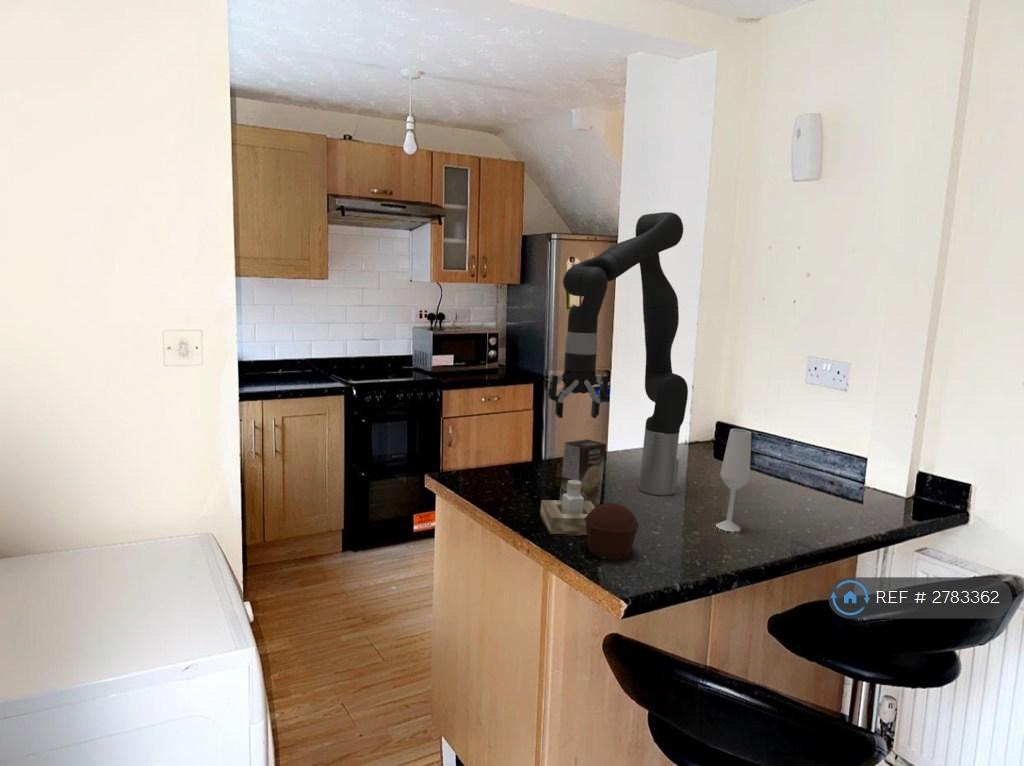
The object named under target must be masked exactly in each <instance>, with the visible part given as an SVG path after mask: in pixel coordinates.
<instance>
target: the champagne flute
mask: <svg viewBox="0 0 1024 766" xmlns="http://www.w3.org/2000/svg"><path fill="white" fill-rule="evenodd" d="M751 446H752V431H750V430H747V429H742V428H731V429H730V430H729V434H728V438H727V442H726V447H725V452H724V454H723V455H724V456H723V460H722V466H721V469H720V473H719V474H720V478H721V480H722V482H723V483H724V484H725V486H726V487H728V489H729V490H730V492H729V499H728V506H727V507H728V508H727V515H726V519H725V520H723V521H721V522H718V523H715V524H716V527H718V528H719V529H722V530H725V531H730V532H731V531H732V532H734V531H739V530H740V528H741V527H740V526H739V525H738V524H736V523H735V522H733V513H734V506H735V501H736V500H735V498H736V491H737V490H739V489H741V488H742V487H744V486H745V485H746V484H748V482H749V481H750V479H751V456H752V455H751V454H752V453H751V450H752V447H751Z"/></svg>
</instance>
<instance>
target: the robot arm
mask: <svg viewBox="0 0 1024 766" xmlns="http://www.w3.org/2000/svg"><path fill="white" fill-rule="evenodd" d="M683 235H684V224H683V221H682V218H681V217H680V216H679V215H678V214H677V213H675V212H668V211H665V212H656V213H655V212H654V213H647V214H642V215H641V216H640V217H639V218H638V220H637V222H636V224H635V237H632V238H629V239H626V240H624V241H621V242H618V243H617V244H615V245H612V246H611V247H609V248H607V249H606V250H604V251H603V252H600V253H599V254H598V255H597V256H594V257H592V258H587V259H585V260H583V261H581V262H578V263H576V264H574V265H573V266H571V267H570V268H568V269H567V271H566V272H565V274H564V276H563V280H562V284H563V288H564V290H565V292H567V293H568V294H569V295H571V296H575V297H583V298H582V301H581V304H580V305H578V306H574V307H571V308H570V309H569V311H568V316H567V317H568V318H567V319H568V320H567V333H566V339H565V349H564V365H563V366H564V367H563V368H564V369H563V373H562V375H561V374H560V375H558V374H555V373H552V374H550V376H549V377H550V378H549V387H548V395H547V396H548V398H549V399H550V400H551V401H554V402H555V415H556V416H557V418H558V419H563V417H564V415H563V413H564V402H563V401H565V399H566V398H567V397H568V396H569V395H570V394H588V395H589V396H590V398H591V399H592V401H591V413H590V417H591V418H592V419H597V417H598V416H599V414H600V407H601V406H600V405H601V402H604V401H605V402H606V401H608V399H609V377H608V376H606V375H605V374H601V375H596V369H597V368H596V367H597V354H598V353H597V352H598V320H599V315H600V311H601V309H602V305H603V302H604V299H605V297H606V292H607V290H608V283H609V282H612V281H614V280H616V279H617V278H618V277H620V276H622V275H623V274H625V273H626V272H627V271H628V270H630V269H631V268H633V267H635V266H636V265H639V268H640V280H641V290H642V291H641V293H642V314H643V315H642V316H643V317H642V318H643V326H644V327H643V328H644V343H645V369H644V370H645V373H644V374H645V375H644V390H645V394H646V396H647V398H648V399H649V400H650V401H651V402H653V403H654V410H653V413H652V415H651V416H648V417H647V418H646V421H645V428H644V437H643V438H644V439H643V447H642V455H641V456H642V457H641V465H640V473H639V476H640V477H639V480H638V481H639V484H638V489H639V490H640V491H641V492H644V493H646V494H650V495H654V496H670V495H676V492H677V491H676V489H677V484H678V483H677V482H678V481H677V480H678V474H679V463H680V460H679V459H678V456H677V455H678V447H679V438H680V431H681V427H682V425H683V423H684V420H685V416H686V410H687V403H688V398H689V397H688V396H689V390H688V389H689V388H688V384H687V381H686V380H685V379H684V377H683V376H681V375H679V374H677V373H673V368H672V347H673V344H674V341H675V338H676V335H677V332H678V328H679V323H680V322H679V319H680V318H679V300H678V295H677V293H676V292H675V289H674V288H673V286H672V284H671V282H670V281H669V280H668V278H667V277H666V275H665V273H664V270H663V267H662V265H661V261H660V260H661V259H660V252H663V251H666V250H669V249H671V248H674V247H675V246H677V245H678V244H679V243H680V242H681V240H682V237H683ZM561 381H562V382H563V384H564V385H563V386H562V388H560V391H559V393H558V394H557V388H558V385H559V384H560V383H561ZM596 382H597V384H598V385H599V395H598V393H597V391H596V390H595V389H594V385H595V383H596Z"/></svg>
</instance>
